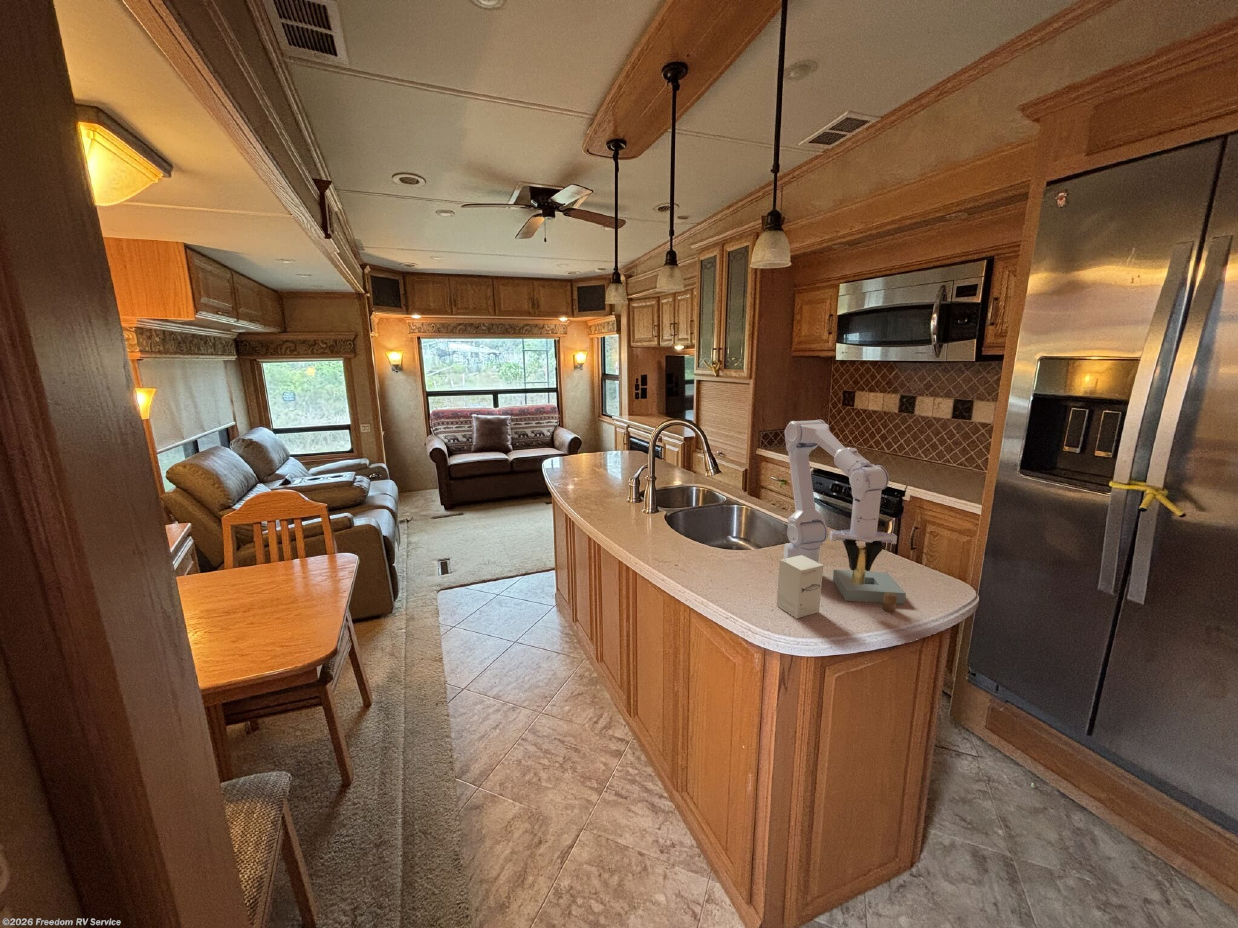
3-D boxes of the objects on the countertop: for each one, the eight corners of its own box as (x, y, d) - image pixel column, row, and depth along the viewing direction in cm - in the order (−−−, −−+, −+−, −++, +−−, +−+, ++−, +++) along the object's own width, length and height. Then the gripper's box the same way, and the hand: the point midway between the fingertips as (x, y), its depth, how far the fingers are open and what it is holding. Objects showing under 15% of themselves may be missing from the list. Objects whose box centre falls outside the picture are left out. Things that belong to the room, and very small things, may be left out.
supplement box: (796, 619, 116) (800, 570, 113) (775, 605, 122) (778, 558, 119) (820, 612, 118) (824, 564, 116) (798, 599, 125) (801, 553, 122)
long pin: (853, 584, 118) (857, 549, 116) (850, 579, 121) (853, 545, 119) (865, 584, 117) (869, 550, 115) (862, 579, 120) (865, 545, 118)
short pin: (884, 612, 118) (886, 597, 117) (880, 606, 121) (882, 591, 120) (896, 613, 118) (898, 598, 117) (892, 607, 121) (894, 592, 120)
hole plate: (845, 600, 124) (846, 589, 123) (832, 579, 136) (833, 569, 135) (904, 603, 122) (905, 593, 121) (886, 582, 134) (887, 572, 133)
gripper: (837, 520, 113) (832, 574, 116) (904, 523, 110) (897, 578, 113) (829, 510, 119) (824, 562, 122) (892, 513, 117) (886, 565, 120)
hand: (859, 569), depth 118 cm, fingers closed on long pin, 3 cm apart
